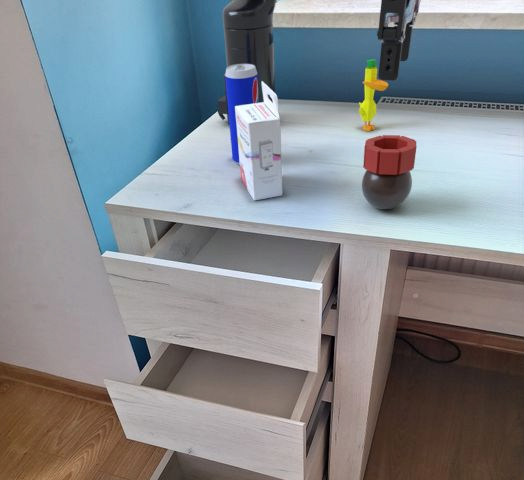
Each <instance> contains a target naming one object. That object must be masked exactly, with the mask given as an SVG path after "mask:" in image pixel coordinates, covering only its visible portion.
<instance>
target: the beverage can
mask: <svg viewBox="0 0 524 480" xmlns="http://www.w3.org/2000/svg"><path fill="white" fill-rule="evenodd" d="M225 72H226V74H225V79H226V91H227V102H228V113H229V124H228V125H229V132H230V133H229V134H230V136H229V137H230V146H231V147H230V148H231V158H232V161H233V162H234V163H235V164H236V165H238V166H240V162H239V148H238V136H237V124H236V114H235V106H240V105H247V104H254V103H259V95H258V75H257V70H256V67H255V66H254V65H252V64H235V65H231V66H228V67H227V66H226V67H225Z"/></svg>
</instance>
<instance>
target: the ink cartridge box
mask: <svg viewBox="0 0 524 480" xmlns="http://www.w3.org/2000/svg"><path fill="white" fill-rule="evenodd" d="M261 83H262V92H263V99H264V102H261V103H254V104H247V105H240V106H235V114H236V124H237V136H238V148H239V162H240V165H239V171H240V172H239V173H240V180H241V182H242V183H243V185H244V187H245V189H246V190H247V191H248V193H249V194H250V196H251V198H252V200H253V201H260V200H265V199H270V198H275V197H281V196H283V169H282V168H283V167H282V165H283V163H282V132H281V131H282V129H281V115H280V105H279V99H278V98H279V97H278V95H277V94H276V92H275V93H274V92H273V91H272V90H271V89H270V88H269V87H268V86H267V85H266V84H265V83H264V82H263V81H262V82H261ZM269 94H270V97H271V98H272V100H273V103H272V102H271V101H270V100H269V98H268V95H269Z"/></svg>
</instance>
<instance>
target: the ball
mask: <svg viewBox="0 0 524 480" xmlns="http://www.w3.org/2000/svg"><path fill="white" fill-rule="evenodd" d="M412 187H413V177H412V174H411V171H408V172H405V173H402V174H397V175H389V174H379V173H377V174H375V173H373V172H371V171H368V170H366V169H365V172H364V174H363V176H362V180H361V191H362V195H363V197H364V199H365V200H366V202H367V203H368V204H369V205H371V206H372V207H374V208H376V209H379V210H392V209H394V208H395V209H396V208H397V207H399V206H400V205H402V204H403V203H404V202H405V201H406V200H407V199H408V197H409V195H410V193H411V191H412Z"/></svg>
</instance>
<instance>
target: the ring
mask: <svg viewBox="0 0 524 480" xmlns="http://www.w3.org/2000/svg"><path fill="white" fill-rule="evenodd" d="M417 148H418V147H417V140H416V139H413V138H410V137H408V136H405V135H400V134H382V135H377V136H374V137H369V138H367V139H366V140H365V143H364V148H363V149H364V151H363V167H362V168H363V169H364V170H365V171H366V170H368V171H371V172H373V173H375V174H377V173H379V174H389V175H397V174H402V173H405V172H408V171H410V172H411V171H413V170H414V169H415V162H416V154H417Z"/></svg>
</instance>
